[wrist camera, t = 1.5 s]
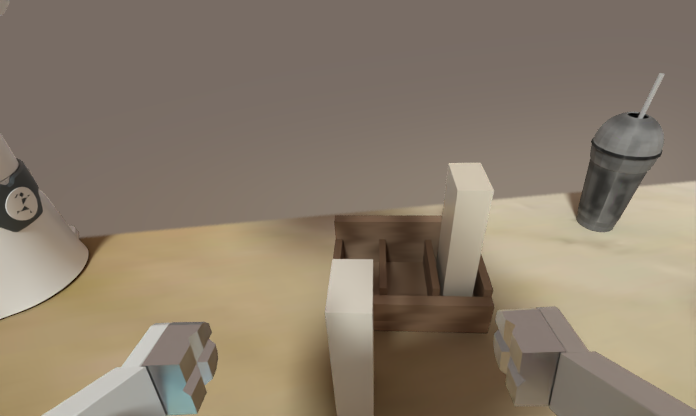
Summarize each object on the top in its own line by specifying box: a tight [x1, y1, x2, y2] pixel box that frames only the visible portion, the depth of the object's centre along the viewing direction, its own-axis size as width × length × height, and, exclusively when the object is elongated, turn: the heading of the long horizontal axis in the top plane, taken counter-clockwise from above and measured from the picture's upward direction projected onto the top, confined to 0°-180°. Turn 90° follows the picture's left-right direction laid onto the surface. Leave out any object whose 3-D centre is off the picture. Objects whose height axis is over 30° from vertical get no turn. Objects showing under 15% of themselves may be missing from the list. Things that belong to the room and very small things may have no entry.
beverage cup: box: [577, 73, 664, 232], centre depth 47 cm, size 7×7×20 cm
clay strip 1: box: [325, 259, 374, 416], centre depth 30 cm, size 3×5×14 cm, turn 177°
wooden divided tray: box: [333, 216, 494, 333], centre depth 41 cm, size 16×10×8 cm, turn 86°
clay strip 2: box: [436, 163, 494, 297], centre depth 38 cm, size 3×5×14 cm, turn 176°
